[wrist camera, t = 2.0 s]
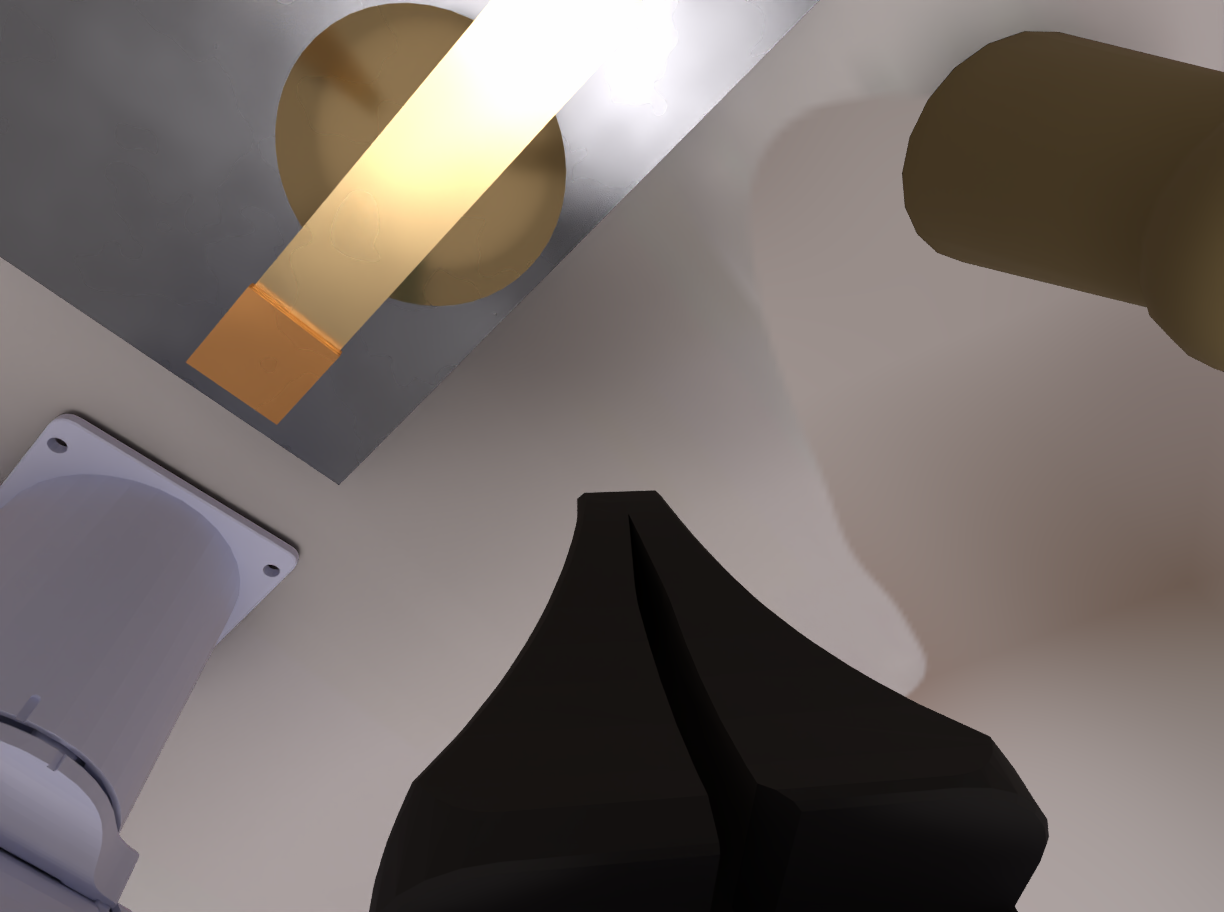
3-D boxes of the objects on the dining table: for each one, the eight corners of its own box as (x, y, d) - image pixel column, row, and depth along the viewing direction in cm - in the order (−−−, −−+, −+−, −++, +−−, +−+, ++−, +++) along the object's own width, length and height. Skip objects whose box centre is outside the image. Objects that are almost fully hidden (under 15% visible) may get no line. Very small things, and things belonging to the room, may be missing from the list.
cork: (910, 50, 18) (1317, 64, 9) (1137, 12, 18) (1777, -14, 9) (895, 278, 21) (1184, 467, 12) (1090, 244, 22) (1529, 405, 12)
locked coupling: (677, 96, 16) (733, 117, 12) (400, 382, 19) (364, 484, 15) (478, -154, 14) (457, -243, 9) (192, 220, 17) (73, 285, 12)
